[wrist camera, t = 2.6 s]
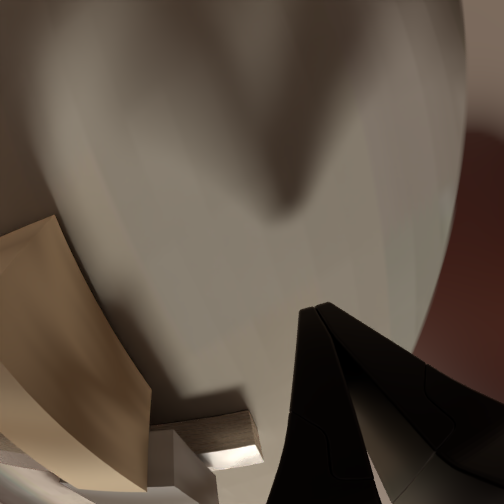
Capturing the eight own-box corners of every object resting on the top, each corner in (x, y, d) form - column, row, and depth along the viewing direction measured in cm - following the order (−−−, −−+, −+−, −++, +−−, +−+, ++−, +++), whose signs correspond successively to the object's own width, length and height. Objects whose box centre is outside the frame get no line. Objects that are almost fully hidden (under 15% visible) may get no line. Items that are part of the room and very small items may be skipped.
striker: (212, 442, 15) (220, 520, 10) (129, 450, 14) (126, 521, 10) (81, 204, 8) (-1, 309, 4) (-26, 248, 8) (-99, 335, 4)
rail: (257, 430, 15) (264, 462, 13) (-59, 428, 14) (-64, 443, 12) (248, 409, 14) (255, 444, 12) (-75, 413, 13) (-81, 428, 11)
